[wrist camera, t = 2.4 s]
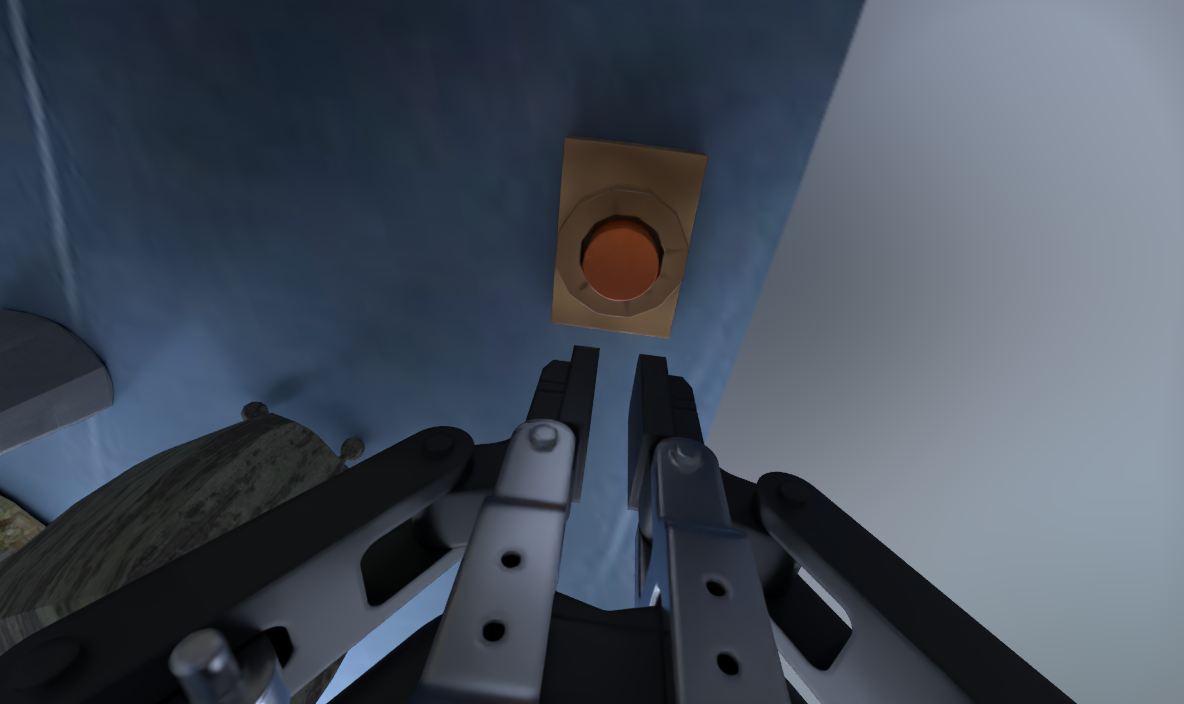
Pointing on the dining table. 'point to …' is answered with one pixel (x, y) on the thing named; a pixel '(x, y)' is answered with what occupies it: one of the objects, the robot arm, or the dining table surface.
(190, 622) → the robot arm
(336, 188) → the dining table surface
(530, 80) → the dining table surface
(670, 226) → the block
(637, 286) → the button
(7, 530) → the ceramic model
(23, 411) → the coffeepot
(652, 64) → the dining table surface
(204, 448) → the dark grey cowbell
